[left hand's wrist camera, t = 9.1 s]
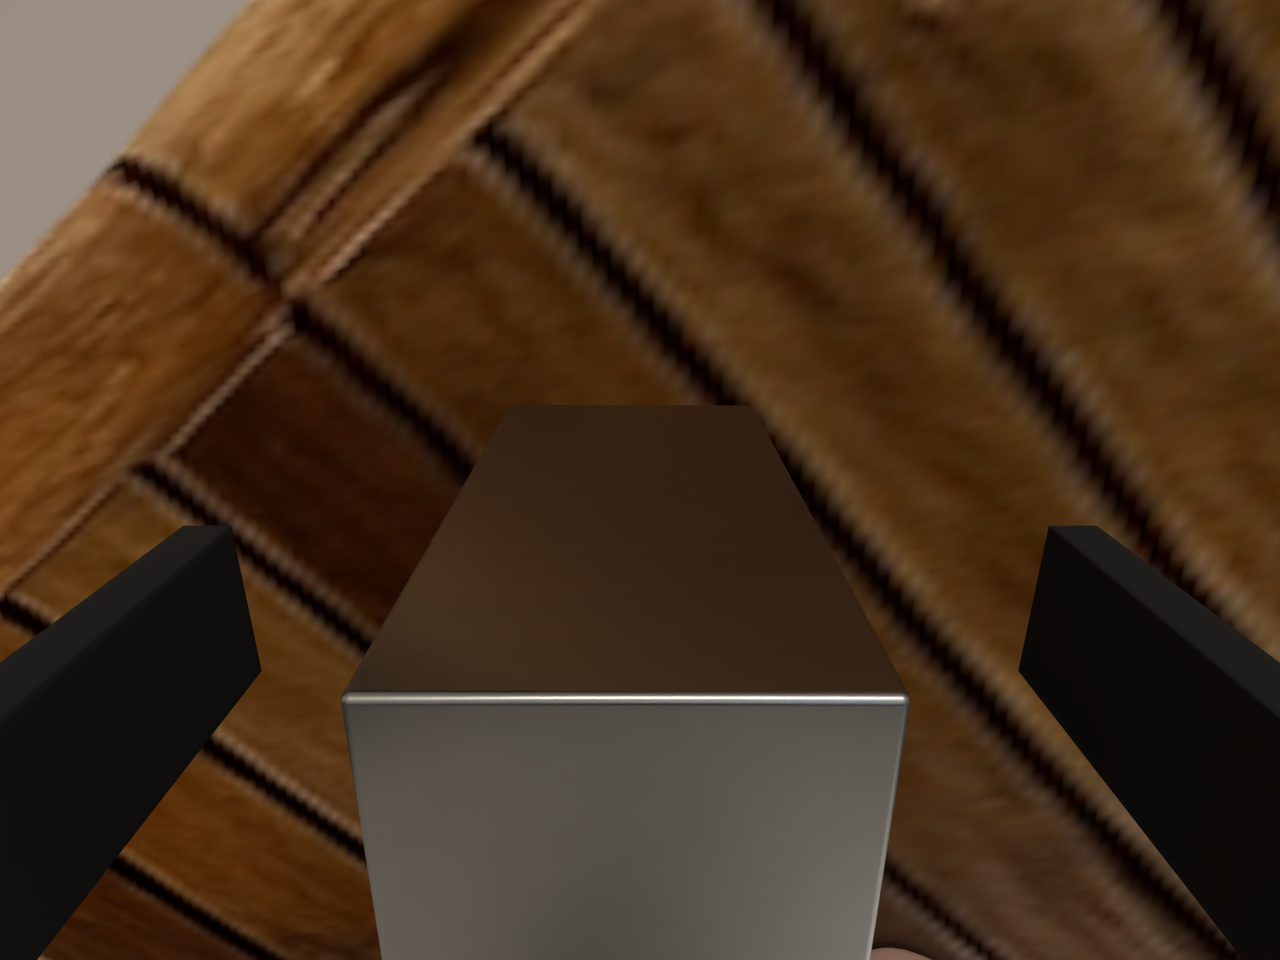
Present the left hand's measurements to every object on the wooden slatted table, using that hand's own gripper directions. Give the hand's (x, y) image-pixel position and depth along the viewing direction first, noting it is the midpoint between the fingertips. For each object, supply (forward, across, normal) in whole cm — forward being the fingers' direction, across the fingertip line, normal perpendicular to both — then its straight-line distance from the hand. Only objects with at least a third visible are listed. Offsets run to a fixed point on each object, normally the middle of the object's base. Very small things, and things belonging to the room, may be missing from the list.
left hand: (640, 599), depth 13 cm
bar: (+3, 0, -10) cm, 11 cm away
